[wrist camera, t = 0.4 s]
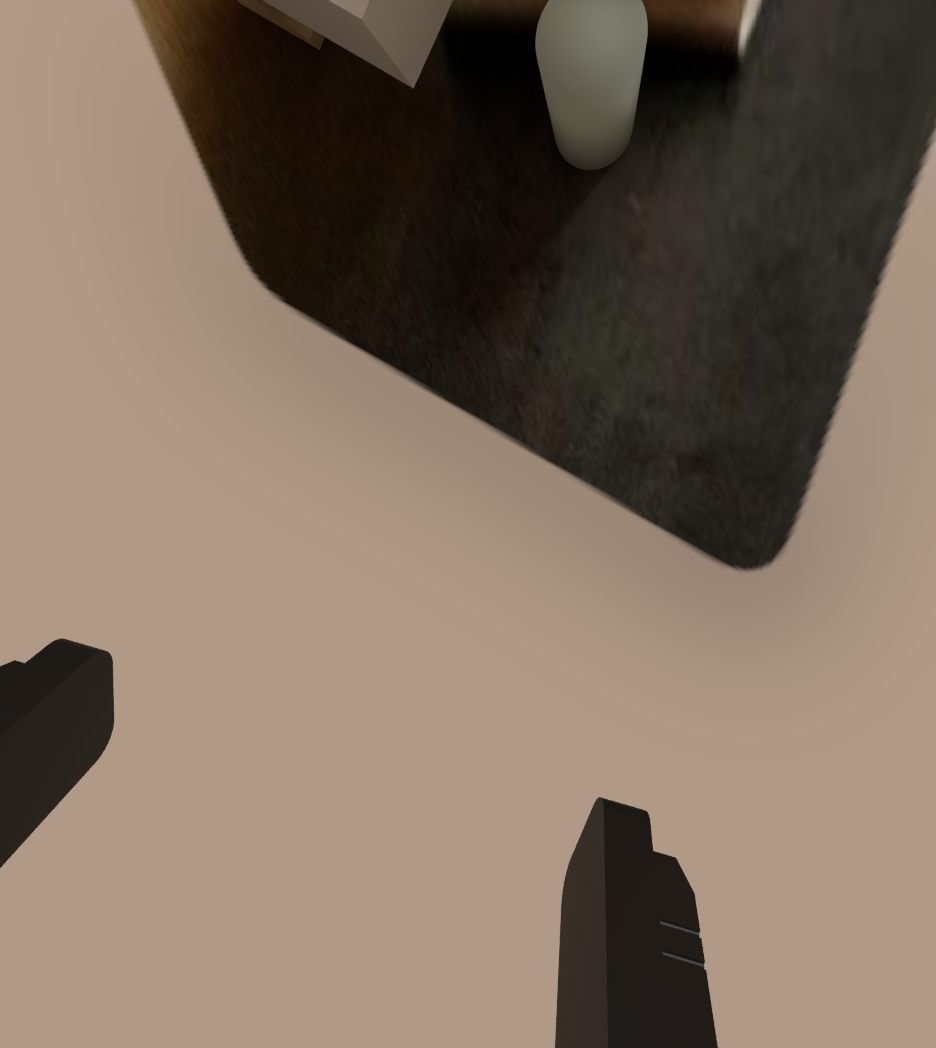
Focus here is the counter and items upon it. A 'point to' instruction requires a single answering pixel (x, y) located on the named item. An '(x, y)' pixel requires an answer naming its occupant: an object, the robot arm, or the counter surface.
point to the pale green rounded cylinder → (592, 75)
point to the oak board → (284, 22)
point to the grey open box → (376, 29)
